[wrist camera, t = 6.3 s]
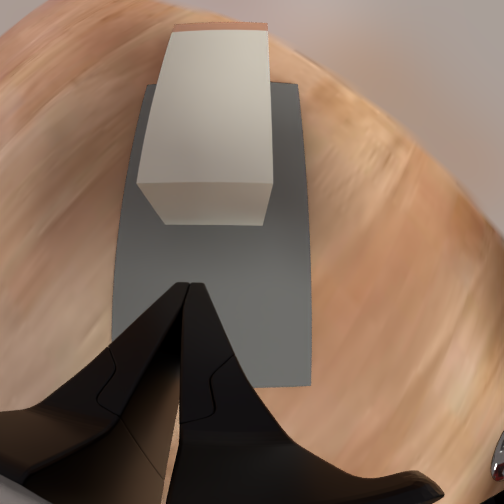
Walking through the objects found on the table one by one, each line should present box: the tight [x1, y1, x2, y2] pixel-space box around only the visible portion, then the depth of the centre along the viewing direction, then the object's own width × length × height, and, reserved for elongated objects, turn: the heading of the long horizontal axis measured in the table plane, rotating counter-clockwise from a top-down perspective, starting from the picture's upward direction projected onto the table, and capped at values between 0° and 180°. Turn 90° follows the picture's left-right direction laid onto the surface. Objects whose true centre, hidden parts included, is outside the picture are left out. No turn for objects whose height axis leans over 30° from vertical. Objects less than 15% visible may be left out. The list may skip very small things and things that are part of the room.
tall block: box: [136, 22, 273, 226], centre depth 14 cm, size 5×5×10 cm
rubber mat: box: [112, 82, 312, 388], centre depth 16 cm, size 18×10×1 cm, turn 0°
